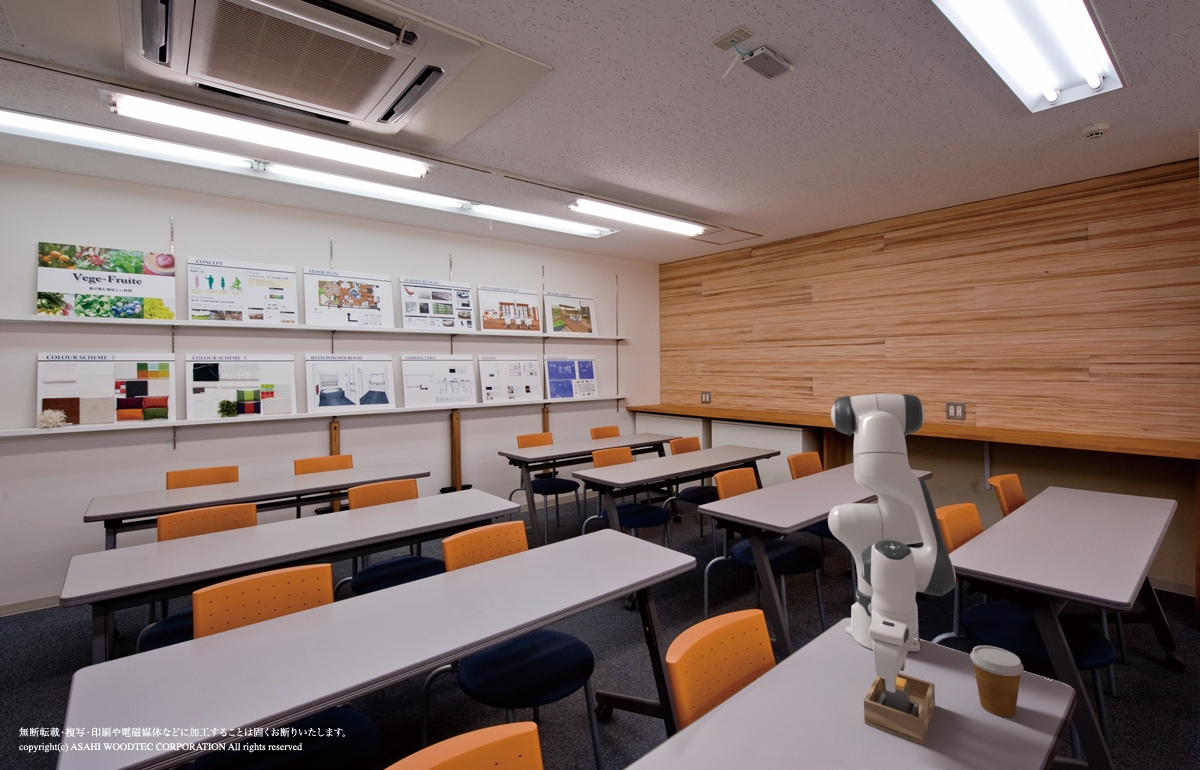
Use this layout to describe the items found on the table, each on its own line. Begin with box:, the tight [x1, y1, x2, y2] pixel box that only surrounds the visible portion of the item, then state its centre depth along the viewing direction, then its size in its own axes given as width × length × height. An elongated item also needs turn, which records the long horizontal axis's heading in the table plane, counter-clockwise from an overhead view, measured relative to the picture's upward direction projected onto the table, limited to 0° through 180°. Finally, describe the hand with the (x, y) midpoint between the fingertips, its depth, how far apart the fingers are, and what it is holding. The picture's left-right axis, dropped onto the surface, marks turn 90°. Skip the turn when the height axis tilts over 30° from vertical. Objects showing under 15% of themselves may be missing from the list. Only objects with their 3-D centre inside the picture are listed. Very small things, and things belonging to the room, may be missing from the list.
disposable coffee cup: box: [969, 645, 1024, 718], centre depth 116 cm, size 10×10×12 cm
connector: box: [885, 677, 910, 714], centre depth 113 cm, size 4×4×8 cm
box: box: [863, 672, 936, 746], centre depth 115 cm, size 16×11×5 cm
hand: (895, 679), depth 113 cm, fingers open, 8 cm apart
